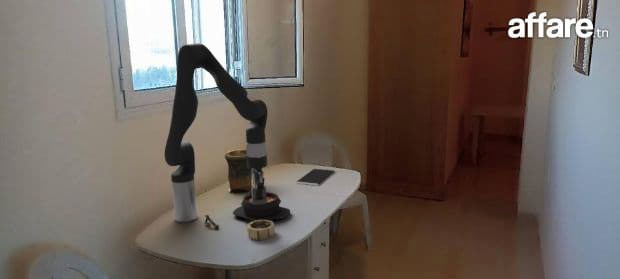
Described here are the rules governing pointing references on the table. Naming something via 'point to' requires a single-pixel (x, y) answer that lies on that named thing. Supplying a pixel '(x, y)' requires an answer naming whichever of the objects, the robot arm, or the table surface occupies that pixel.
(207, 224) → the wooden post with brackets
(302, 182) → the smartphone
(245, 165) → the vessel
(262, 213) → the casserole
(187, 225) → the table surface
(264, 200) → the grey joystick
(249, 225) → the octagonal wooden ring
